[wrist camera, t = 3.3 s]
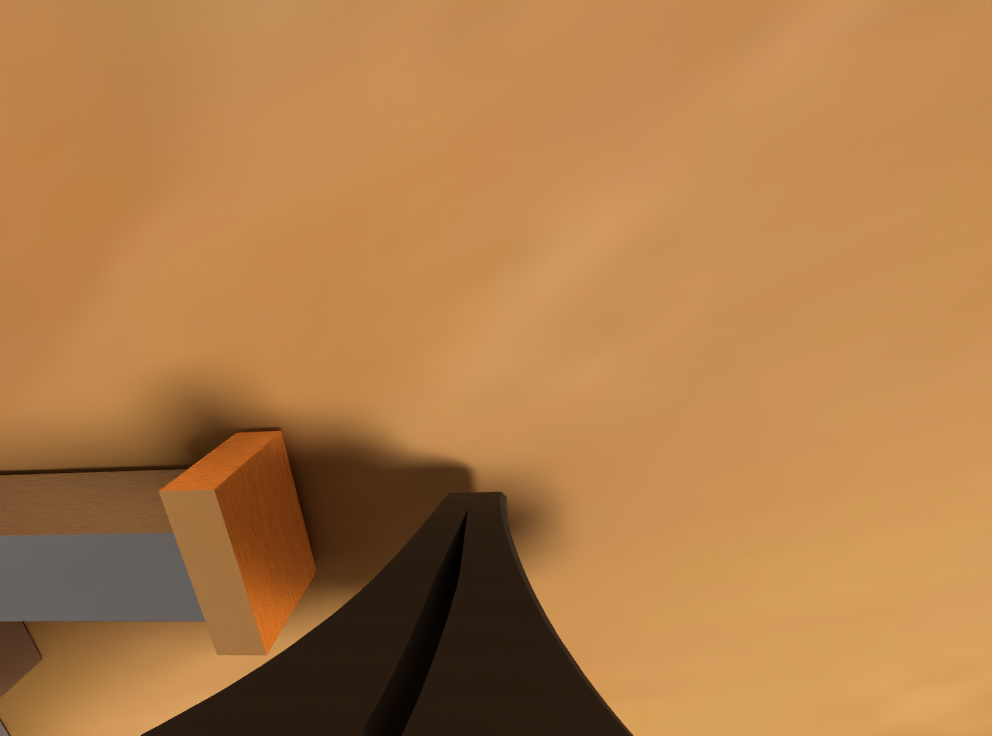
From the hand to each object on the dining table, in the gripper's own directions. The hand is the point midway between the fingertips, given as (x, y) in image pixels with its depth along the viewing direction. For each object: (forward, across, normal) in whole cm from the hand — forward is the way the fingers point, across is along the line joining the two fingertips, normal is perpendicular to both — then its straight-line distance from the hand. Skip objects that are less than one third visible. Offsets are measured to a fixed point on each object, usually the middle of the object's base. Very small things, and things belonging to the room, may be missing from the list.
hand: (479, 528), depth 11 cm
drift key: (+1, +10, 0) cm, 10 cm away
